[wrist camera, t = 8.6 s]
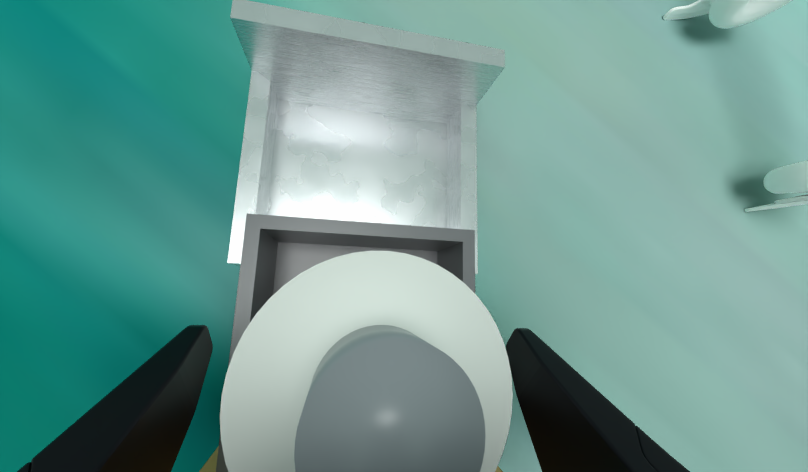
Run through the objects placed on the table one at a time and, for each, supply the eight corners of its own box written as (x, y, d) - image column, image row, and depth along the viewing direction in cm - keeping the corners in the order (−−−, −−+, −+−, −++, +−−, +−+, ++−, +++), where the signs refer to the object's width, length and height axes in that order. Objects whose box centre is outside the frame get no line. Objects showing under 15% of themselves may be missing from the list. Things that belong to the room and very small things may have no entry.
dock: (459, 304, 20) (511, 310, 14) (239, 298, 18) (188, 304, 12) (460, 113, 22) (504, 49, 16) (265, 85, 20) (233, -3, 14)
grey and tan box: (454, 436, 18) (549, 557, 10) (229, 449, 16) (113, 621, 8) (455, 244, 20) (535, 215, 12) (254, 232, 18) (182, 185, 10)
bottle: (359, 413, 16) (418, 810, 4) (272, 338, 16) (41, 500, 4) (430, 322, 18) (637, 397, 5) (351, 252, 18) (378, 161, 5)
